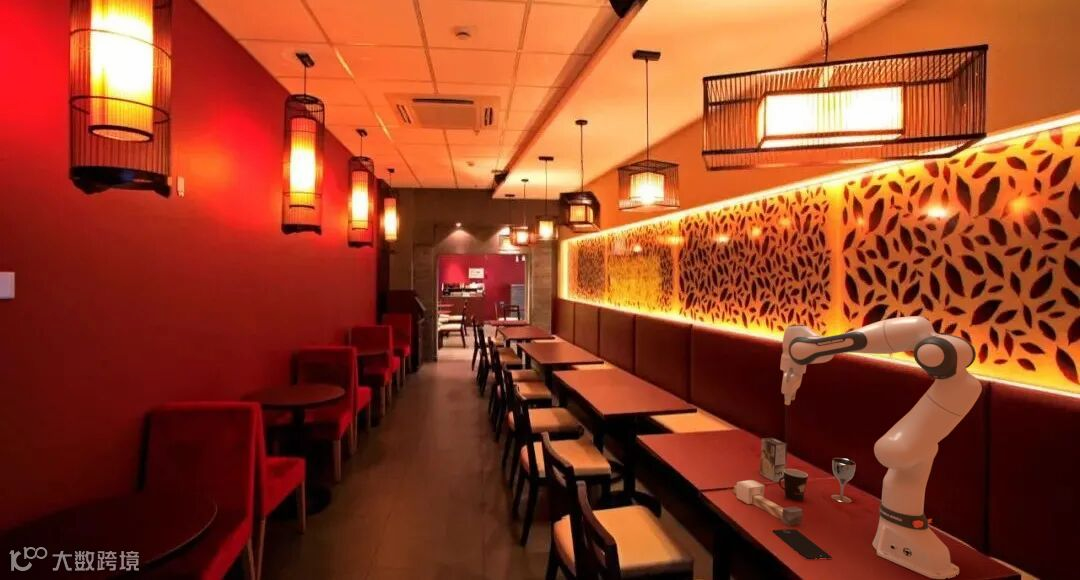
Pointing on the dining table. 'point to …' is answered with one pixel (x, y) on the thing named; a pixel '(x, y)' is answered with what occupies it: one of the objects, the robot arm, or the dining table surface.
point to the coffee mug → (794, 484)
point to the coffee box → (773, 459)
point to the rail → (777, 510)
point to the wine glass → (843, 475)
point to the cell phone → (801, 544)
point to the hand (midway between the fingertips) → (789, 402)
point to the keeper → (749, 490)
